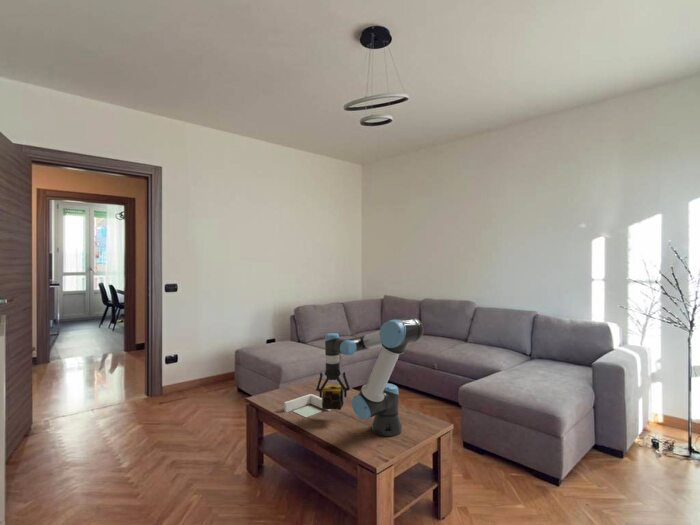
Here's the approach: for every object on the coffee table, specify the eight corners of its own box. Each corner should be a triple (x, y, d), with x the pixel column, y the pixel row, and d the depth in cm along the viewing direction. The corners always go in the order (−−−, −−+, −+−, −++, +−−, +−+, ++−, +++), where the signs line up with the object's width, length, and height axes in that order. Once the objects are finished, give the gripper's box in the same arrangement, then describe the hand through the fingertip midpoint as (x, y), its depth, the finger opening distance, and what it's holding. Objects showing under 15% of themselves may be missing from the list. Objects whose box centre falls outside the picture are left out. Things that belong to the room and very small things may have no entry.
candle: (340, 410, 199) (340, 391, 200) (321, 409, 201) (321, 390, 201) (344, 403, 209) (344, 385, 210) (326, 402, 211) (326, 384, 211)
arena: (331, 410, 220) (331, 401, 220) (303, 420, 206) (303, 411, 206) (311, 401, 233) (311, 393, 233) (284, 411, 219) (284, 402, 219)
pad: (322, 411, 218) (322, 411, 218) (305, 417, 209) (305, 417, 209) (308, 405, 226) (308, 405, 226) (292, 411, 218) (292, 411, 218)
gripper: (353, 360, 209) (354, 400, 209) (311, 361, 209) (312, 401, 209) (354, 363, 202) (354, 405, 202) (310, 364, 202) (311, 406, 202)
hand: (333, 403), depth 205 cm, fingers closed on candle, 11 cm apart
